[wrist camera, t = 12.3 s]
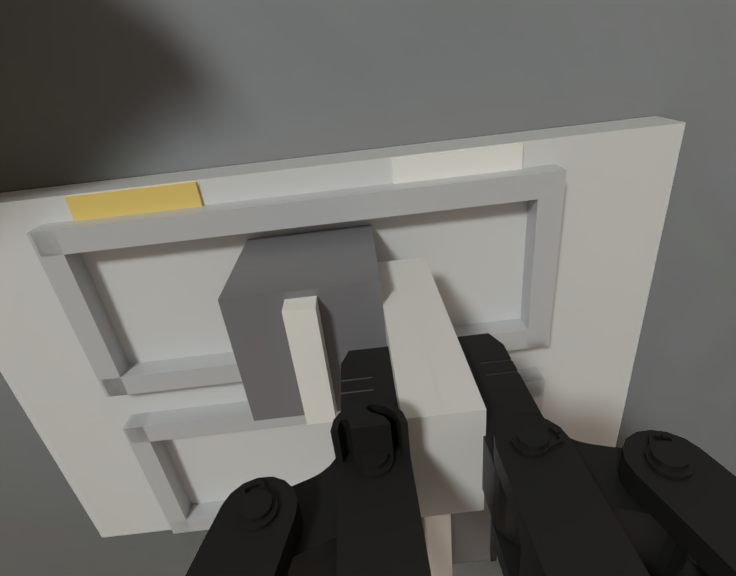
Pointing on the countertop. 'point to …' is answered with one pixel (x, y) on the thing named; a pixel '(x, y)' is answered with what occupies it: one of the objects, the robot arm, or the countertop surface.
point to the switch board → (304, 214)
